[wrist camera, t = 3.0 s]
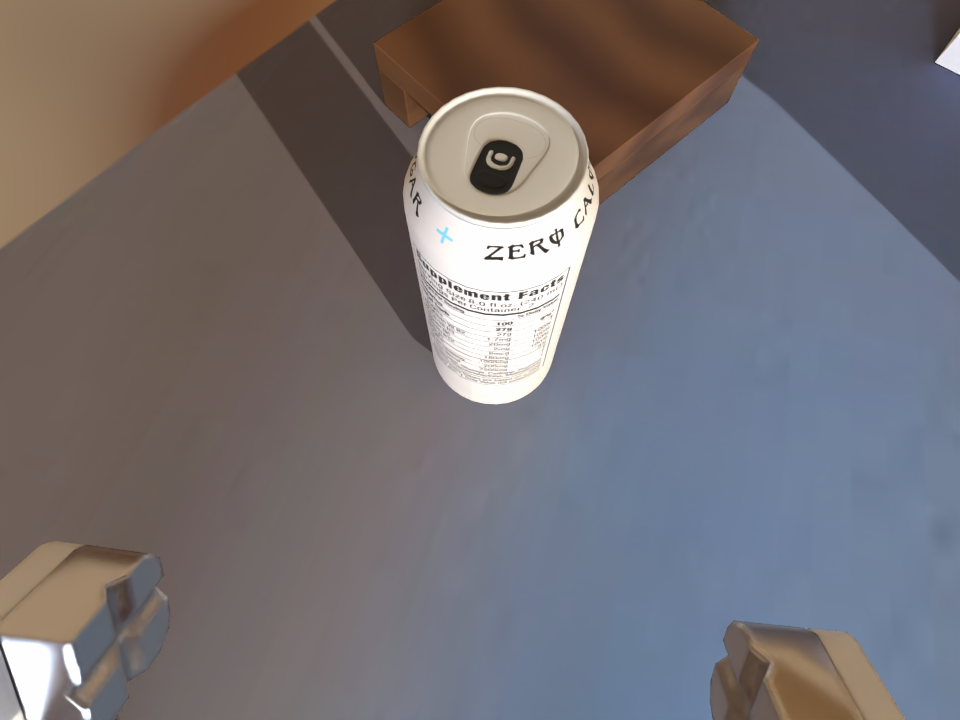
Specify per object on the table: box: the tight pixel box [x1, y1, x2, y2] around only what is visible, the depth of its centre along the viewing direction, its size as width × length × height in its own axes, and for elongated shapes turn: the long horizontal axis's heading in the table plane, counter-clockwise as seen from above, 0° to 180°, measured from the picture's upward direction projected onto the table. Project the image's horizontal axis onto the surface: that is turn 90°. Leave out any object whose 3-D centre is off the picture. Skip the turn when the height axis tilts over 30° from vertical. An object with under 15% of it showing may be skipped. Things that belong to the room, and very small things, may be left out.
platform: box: [373, 0, 759, 205], centre depth 35 cm, size 16×14×4 cm
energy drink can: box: [403, 87, 599, 404], centre depth 24 cm, size 6×6×15 cm
